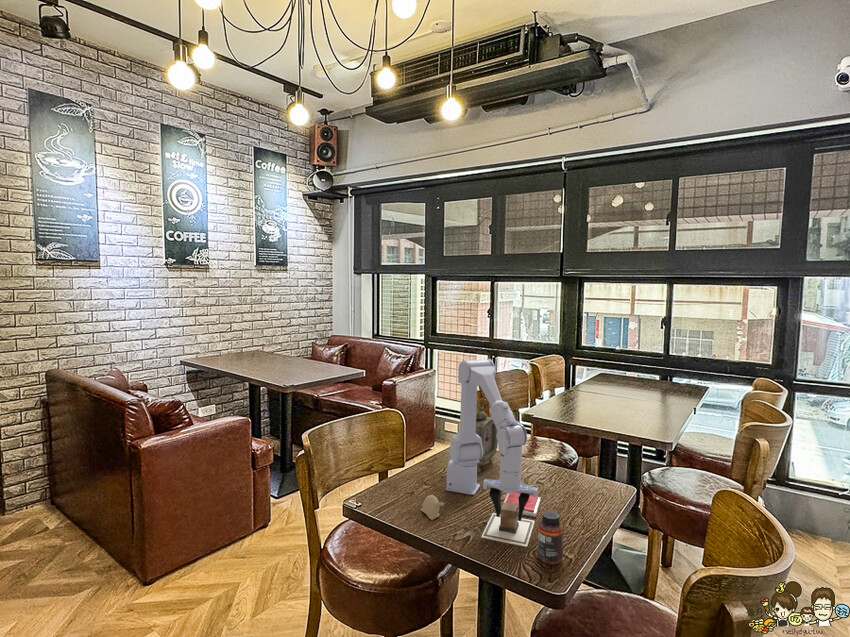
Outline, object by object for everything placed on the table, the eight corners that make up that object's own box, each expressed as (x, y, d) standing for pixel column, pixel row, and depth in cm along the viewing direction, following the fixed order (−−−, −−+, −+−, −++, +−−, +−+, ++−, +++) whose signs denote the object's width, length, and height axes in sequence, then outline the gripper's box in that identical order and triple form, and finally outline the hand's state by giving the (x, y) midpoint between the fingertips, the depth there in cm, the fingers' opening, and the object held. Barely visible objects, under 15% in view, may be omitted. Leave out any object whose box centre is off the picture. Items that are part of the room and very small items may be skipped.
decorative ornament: (431, 507, 144) (432, 489, 143) (445, 519, 137) (446, 501, 136) (419, 510, 142) (420, 492, 142) (433, 523, 135) (433, 504, 134)
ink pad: (501, 511, 142) (501, 505, 142) (508, 495, 152) (508, 490, 152) (535, 517, 138) (536, 512, 138) (540, 500, 149) (540, 495, 149)
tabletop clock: (480, 475, 167) (482, 405, 165) (457, 469, 172) (458, 401, 170) (497, 462, 180) (498, 396, 177) (475, 457, 184) (476, 393, 182)
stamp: (498, 530, 131) (499, 509, 130) (502, 522, 135) (502, 501, 134) (515, 533, 129) (516, 512, 129) (518, 525, 133) (519, 504, 133)
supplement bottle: (556, 551, 122) (558, 508, 121) (566, 565, 116) (568, 520, 115) (533, 552, 121) (535, 509, 120) (542, 566, 115) (544, 521, 114)
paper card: (481, 537, 127) (481, 536, 127) (492, 513, 140) (492, 512, 140) (527, 547, 123) (527, 546, 123) (534, 521, 136) (534, 520, 136)
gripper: (480, 470, 129) (479, 519, 130) (535, 479, 124) (534, 529, 125) (486, 461, 136) (485, 507, 137) (539, 468, 131) (537, 517, 132)
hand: (509, 517), depth 131 cm, fingers open, 5 cm apart
